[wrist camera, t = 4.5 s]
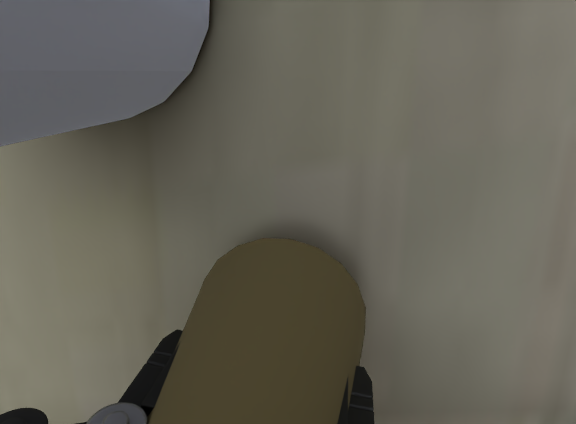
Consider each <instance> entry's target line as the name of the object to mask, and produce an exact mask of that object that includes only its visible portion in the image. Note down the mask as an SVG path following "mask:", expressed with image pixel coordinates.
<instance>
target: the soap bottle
mask: <svg viewBox="0 0 576 424" xmlns="http://www.w3.org/2000/svg"><path fill="white" fill-rule="evenodd" d="M209 7H210V0H0V146H4V145H9V144H13V143H18V142H22V141H27V140H32V139H36V138H41V137H46V136H50V135H55V134H59V133H64V132H69V131H73V130H78V129H83V128H87V127H92V126H96V125H101V124H106V123H110V122H115V121H119V120H124V119H129V118H131V117H133V116H135V115H137V114H140V113H142V112H144V111H146V110H148V109H150V108H152V107H154V106H157V105H159V104H161V103H163V102H164V101H165V100H166V99H167V98H168V97H169V96H170V95H171V94H172V93H173V91H174V90H175V89H176V88H177V87H178V86H179V85H180V84H181V83H182V81H183V80H184V79H185V78H186V77H187V76H188V75H189V74H190V73H191V71H192V69H193V67H194V64H195V61H196V59H197V56H198V54H199V51H200V48H201V46H202V43H203V41H204V38H205V36H206V33H207V30H208V27H209Z"/></svg>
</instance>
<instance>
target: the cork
mask: <svg viewBox="0 0 576 424" xmlns="http://www.w3.org/2000/svg"><path fill="white" fill-rule="evenodd" d="M365 316H366V307H365V304H364V302H363V299H362V296H361V293H360V290H359V287H358V284H357V283H356V282H355V281H354V279H353V278H352V277H351V276H350V274H349V273H348V272H347V270H346V269H345V268H344V267H343V265H342V264H341V263H340V262H338V261H337V260H335V259H334V258H332V257H331V256H329V255H328V254H326V253H325V252H323V251H322V250H321V249H319V248H317V247H314V246H311V245H308V244H305V243H302V242H299V241H296V240H292V239H272V238H262V239H259V240H255V241H252V242H248V243H245V244H241V245H238V246H236V247H235V248H234V249H232V250H231V251H229V252H228V253H227V254H225V255H224V256H222V257H221V258H219V259H218V260H217V262H216V263H215V265H214V266H213V268H212V269H211V270H210V272H209V273H208V275H207V276H206V278H205V280H204V282H203V285H202V287H201V289H200V292H199V294H198V297H197V299H196V301H195V304H194V306H193V308H192V311H191V313H190V315H189V318H188V320H187V323H186V325H185V327H184V330H183V332H182V334H181V337H180V339H179V342H178V344H177V346H178V345H179V343H180V345H179V347H178V350H177V352H176V355H175V357H174V360H173V362H172V365H171V367H170V370H169V372H168V375H167V377H166V380H165V382H164V385H163V387H162V390H161V392H160V395H159V397H158V400H157V402H156V405H155V407H154V409H153V410H152V411H151V413H150V414H149V415H148V417H147V424H337V423H338V418H339V414H340V409H341V405H342V400H343V396H344V391H345V387H346V382H347V378H348V408H349V403H350V397H351V392H352V386H353V381H354V375H355V370H356V366H359V364H360V358H361V352H362V346H363V340H364V335H365ZM177 346H176V348H177Z"/></svg>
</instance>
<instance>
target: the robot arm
mask: <svg viewBox="0 0 576 424" xmlns="http://www.w3.org/2000/svg"><path fill="white" fill-rule="evenodd" d="M182 332H183V331H181V330H175V331H174V332H172V333H171V334H169V335H168V336H166V337H165V338H163V339H162V341H161V342H160V344H159V345H158V346H157V348H156V349H155V351H154V353H152V355H151V356H150V358H149V359H148V361H147V363H146V364H145V365H144V366H143V368H142V369H141V370H140V372H139V373H138V375H137V376H136V378H135V379H134V380H133V382H132V383H131V385H130V386H129V387H128V389H127V390H126V392H125V393H124V395H123V396H122V397H121V399H120V400H119V402H118V403H115V404H111V405H109V406H106V407H104V408H102V409H100V410H99V411H97V412H96V413H95V414H94V415H93V416H91V418H90V419H89V420H88V421H87V422H84V423H77V424H147V417H148V415H149V414H150V413H151V411H152V410H153V409H154V407H155V405H156V402H157V400H158V397H159V395H160V392H161V390H162V387H163V385H164V382H165V380H166V377H167V375H168V372H169V370H170V367H171V365H172V362H173V360H174V357H175V355H176V352H177V350H178V347H179V345H180V343H179V345H178V346H177V344H178V342H179V339H180V337H181V334H182ZM176 346H177V348H176ZM373 409H374V408H373V392H372V381H371V379H370V377H369V375H368V374H367V372H366V370H365V368H364V367H360V366H356V370H355V375H354V381H353V386H352V392H351V397H350V403H349V408H348V378H347V382H346V387H345V391H344V396H343V400H342V405H341V409H340V414H339V418H338V423H337V424H374V412H373ZM0 424H48V419H47V416H46V415H45V414H44V413H43V412H42V411H40V410H38V409H34V408H20V409H15V410H12V411H9V412H6V413H4V414H1V415H0Z"/></svg>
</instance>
